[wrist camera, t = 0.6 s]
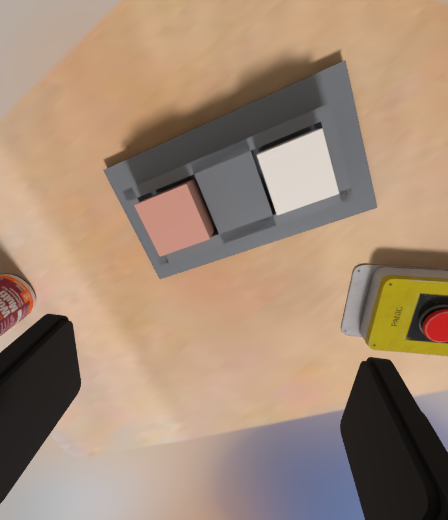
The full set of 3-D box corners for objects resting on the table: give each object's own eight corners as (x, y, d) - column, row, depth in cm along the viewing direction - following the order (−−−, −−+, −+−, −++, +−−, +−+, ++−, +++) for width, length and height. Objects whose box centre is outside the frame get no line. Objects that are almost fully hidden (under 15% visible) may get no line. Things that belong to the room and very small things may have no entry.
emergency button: (497, 369, 31) (348, 356, 32) (469, 342, 35) (338, 331, 36) (536, 291, 27) (366, 280, 28) (500, 270, 31) (353, 261, 32)
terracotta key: (194, 178, 27) (186, 184, 24) (215, 228, 29) (210, 239, 26) (147, 197, 28) (133, 205, 25) (169, 244, 30) (159, 256, 27)
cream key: (314, 129, 24) (322, 128, 21) (330, 187, 26) (339, 193, 23) (256, 152, 25) (256, 155, 23) (275, 206, 27) (277, 215, 24)
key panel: (342, 62, 25) (358, 48, 21) (373, 205, 29) (392, 216, 25) (107, 169, 31) (84, 174, 27) (162, 275, 35) (149, 294, 31)
